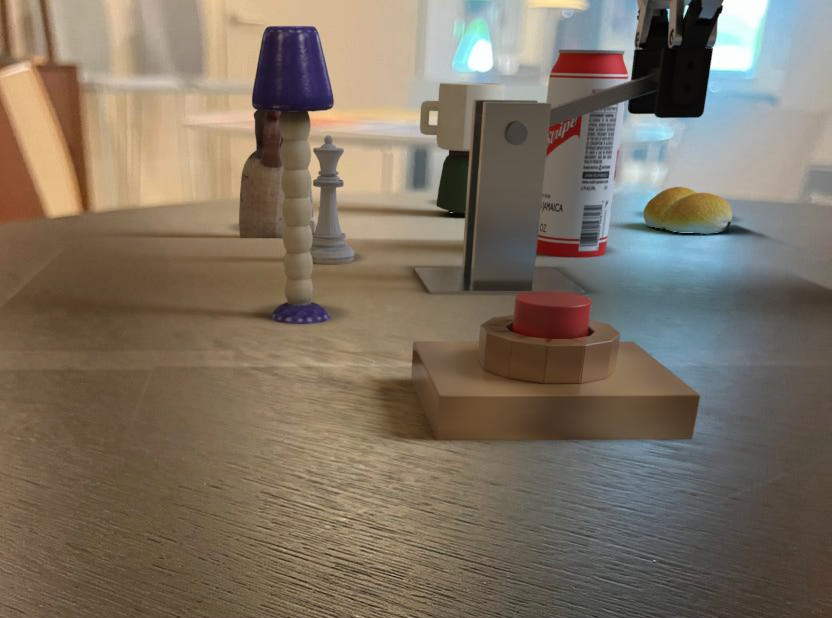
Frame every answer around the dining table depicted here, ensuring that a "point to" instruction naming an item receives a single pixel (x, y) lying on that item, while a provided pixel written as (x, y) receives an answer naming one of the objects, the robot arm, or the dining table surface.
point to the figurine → (264, 183)
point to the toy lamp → (294, 150)
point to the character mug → (455, 135)
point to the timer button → (551, 315)
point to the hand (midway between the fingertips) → (663, 112)
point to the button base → (549, 388)
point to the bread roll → (688, 211)
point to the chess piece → (329, 210)
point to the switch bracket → (502, 205)
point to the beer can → (581, 157)
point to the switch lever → (605, 98)
